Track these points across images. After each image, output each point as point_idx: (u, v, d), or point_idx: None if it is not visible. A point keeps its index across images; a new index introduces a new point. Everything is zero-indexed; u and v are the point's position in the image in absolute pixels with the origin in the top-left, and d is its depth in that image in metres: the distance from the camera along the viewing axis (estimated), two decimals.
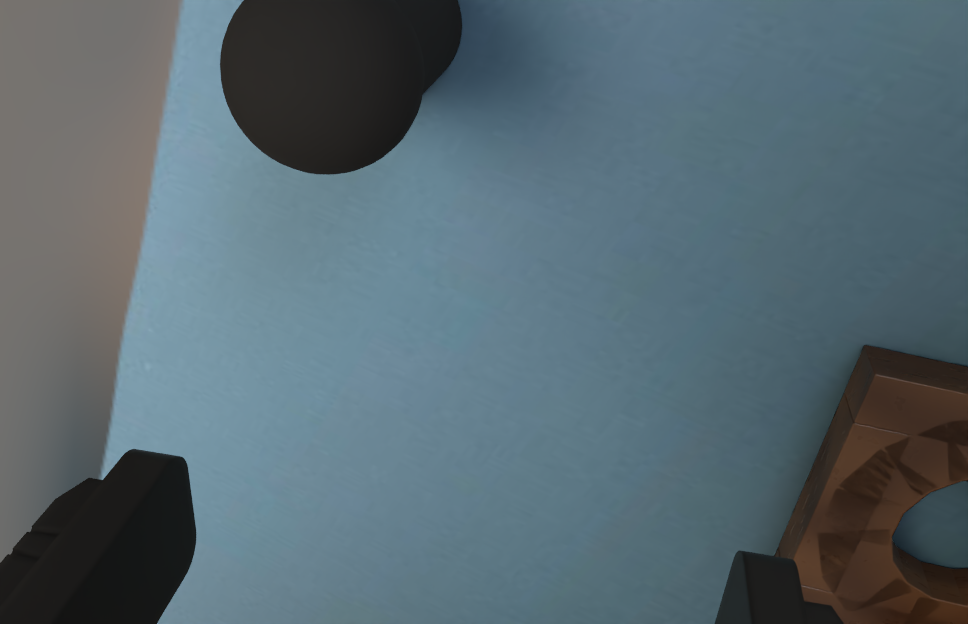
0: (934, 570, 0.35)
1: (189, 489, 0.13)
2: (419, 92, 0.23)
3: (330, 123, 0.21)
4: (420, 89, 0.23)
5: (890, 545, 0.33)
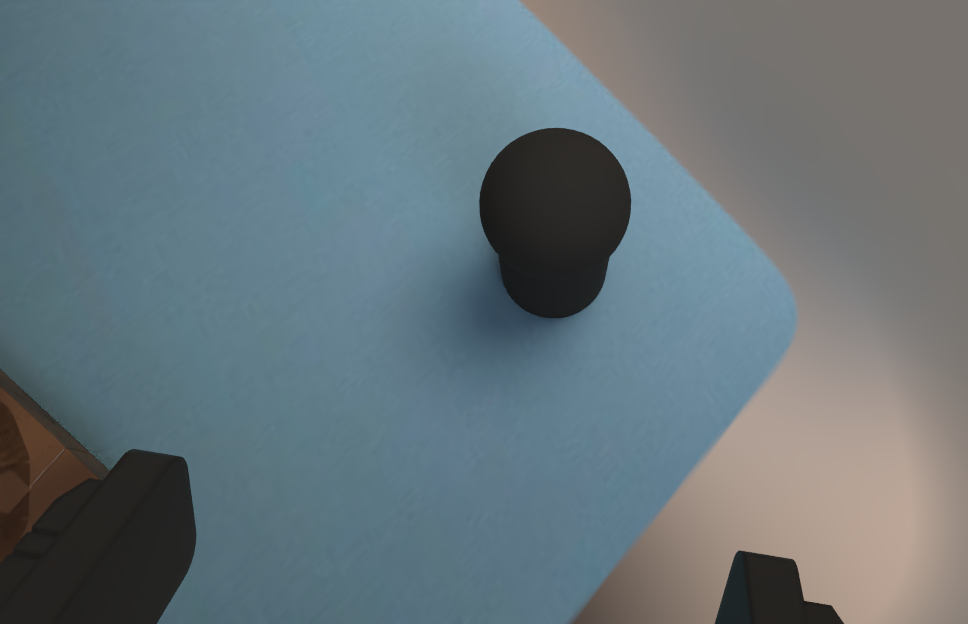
0: None
1: (189, 489, 0.13)
2: (508, 260, 0.30)
3: (525, 192, 0.28)
4: (509, 262, 0.30)
5: None
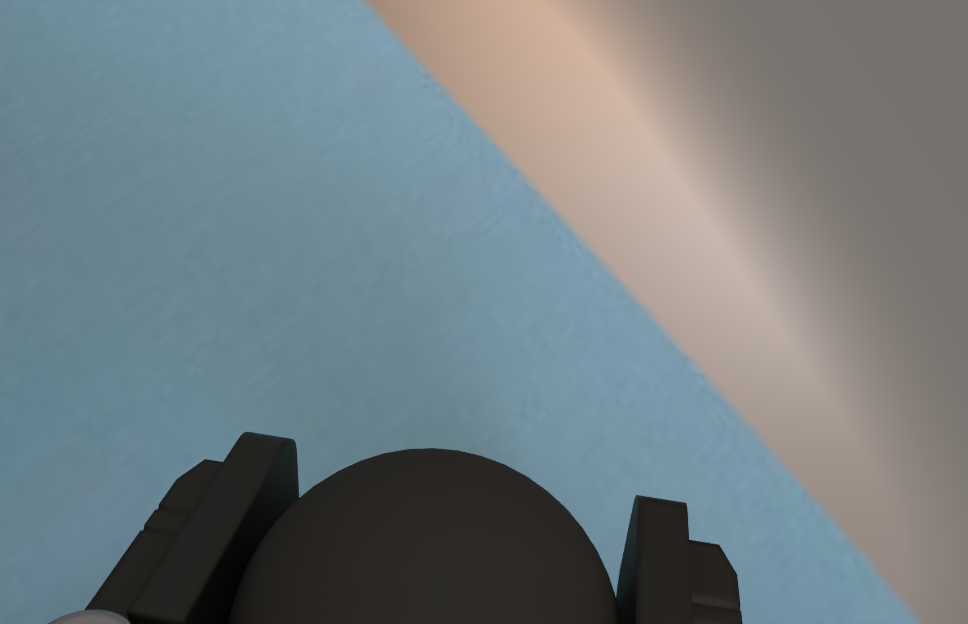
0: None
1: (297, 470, 0.14)
2: None
3: None
4: None
5: None
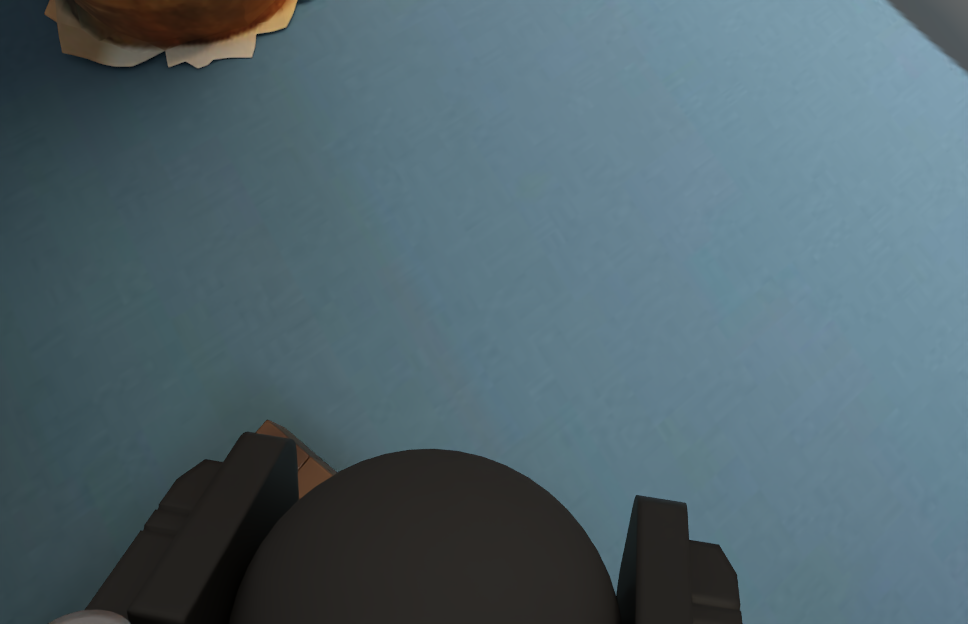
0: None
1: (296, 471, 0.14)
2: None
3: None
4: None
5: None
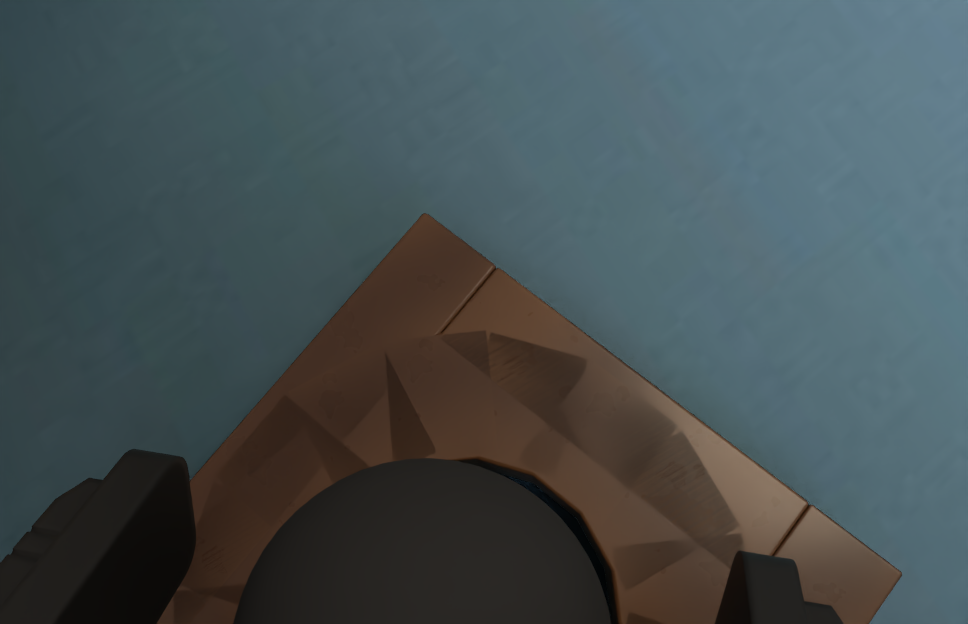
0: None
1: (189, 489, 0.13)
2: None
3: None
4: None
5: (515, 466, 0.18)
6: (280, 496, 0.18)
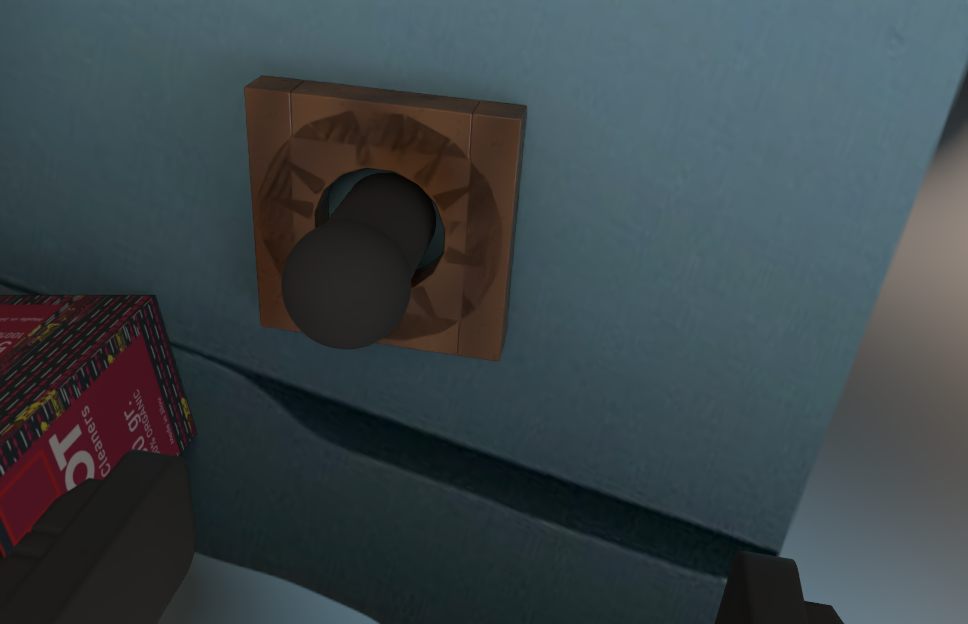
0: (325, 207, 0.42)
1: (189, 489, 0.13)
2: None
3: (319, 334, 0.34)
4: None
5: (357, 168, 0.39)
6: (288, 230, 0.41)
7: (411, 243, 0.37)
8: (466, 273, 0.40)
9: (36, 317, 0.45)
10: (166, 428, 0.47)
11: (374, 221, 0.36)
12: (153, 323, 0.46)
